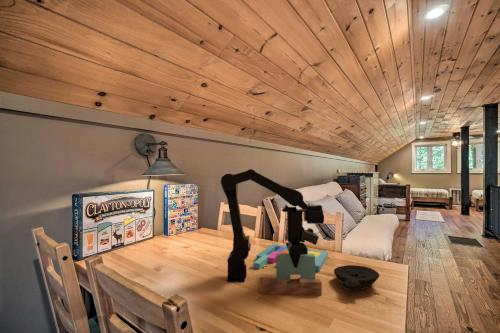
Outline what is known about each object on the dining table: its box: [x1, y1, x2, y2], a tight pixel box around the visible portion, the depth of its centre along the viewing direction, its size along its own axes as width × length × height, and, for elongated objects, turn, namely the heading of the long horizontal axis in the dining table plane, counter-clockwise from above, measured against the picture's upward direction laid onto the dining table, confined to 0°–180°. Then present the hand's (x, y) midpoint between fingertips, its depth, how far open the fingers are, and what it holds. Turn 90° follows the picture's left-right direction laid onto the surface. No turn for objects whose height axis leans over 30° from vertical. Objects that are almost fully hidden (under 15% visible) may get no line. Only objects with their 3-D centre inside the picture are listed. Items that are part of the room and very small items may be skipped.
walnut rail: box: [259, 277, 323, 296], centre depth 80 cm, size 20×2×4 cm, turn 87°
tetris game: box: [253, 243, 329, 273], centre depth 108 cm, size 28×3×28 cm
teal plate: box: [275, 253, 316, 282], centre depth 90 cm, size 14×3×9 cm, turn 87°
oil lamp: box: [333, 264, 380, 292], centre depth 84 cm, size 15×20×5 cm
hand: (295, 265), depth 90 cm, fingers closed on teal plate, 3 cm apart
